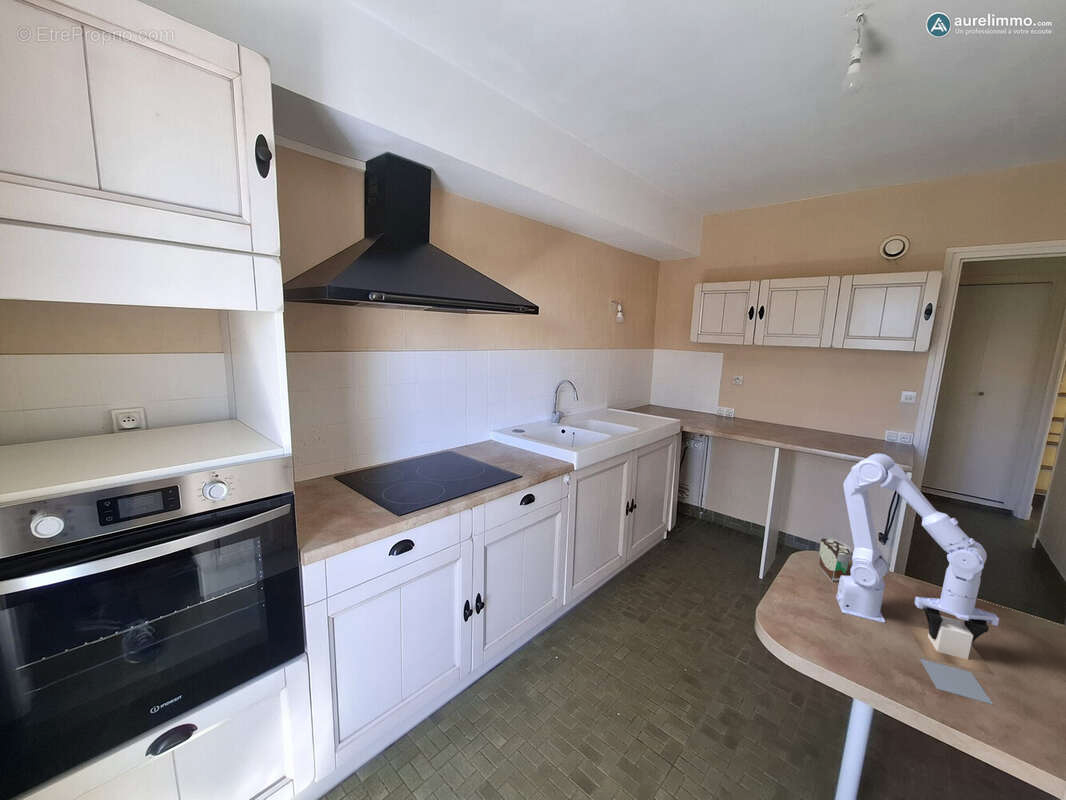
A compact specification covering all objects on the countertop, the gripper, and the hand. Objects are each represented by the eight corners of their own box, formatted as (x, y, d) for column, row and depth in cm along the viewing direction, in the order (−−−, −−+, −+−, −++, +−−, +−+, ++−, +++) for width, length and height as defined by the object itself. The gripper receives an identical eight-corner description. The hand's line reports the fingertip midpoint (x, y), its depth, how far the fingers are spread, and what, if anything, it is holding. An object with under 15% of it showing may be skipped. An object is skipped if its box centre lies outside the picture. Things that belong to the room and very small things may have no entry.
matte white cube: (937, 651, 101) (942, 628, 100) (927, 636, 106) (932, 613, 105) (967, 659, 99) (973, 635, 98) (956, 643, 104) (961, 620, 103)
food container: (857, 588, 126) (862, 557, 124) (834, 585, 127) (839, 555, 125) (836, 565, 138) (841, 537, 136) (816, 562, 139) (820, 535, 137)
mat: (936, 689, 91) (937, 688, 91) (920, 659, 99) (920, 658, 99) (992, 705, 87) (993, 704, 87) (970, 673, 95) (971, 672, 95)
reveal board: (925, 657, 100) (925, 656, 100) (906, 625, 110) (906, 624, 110) (993, 675, 95) (994, 674, 95) (967, 639, 105) (967, 638, 105)
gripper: (927, 592, 99) (917, 641, 102) (1011, 610, 93) (998, 662, 95) (915, 575, 105) (906, 623, 108) (993, 591, 99) (981, 641, 102)
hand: (948, 640), depth 102 cm, fingers closed on matte white cube, 5 cm apart
